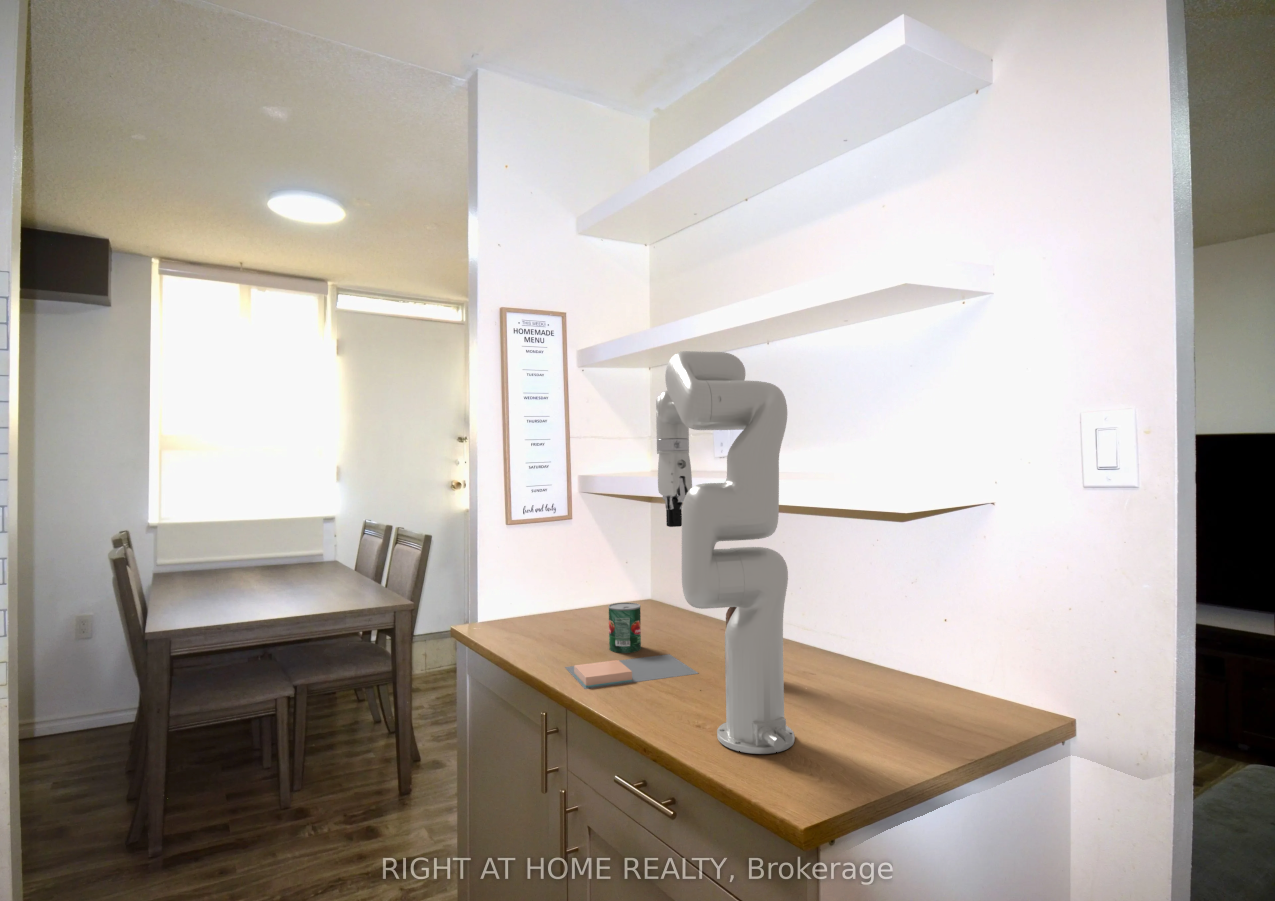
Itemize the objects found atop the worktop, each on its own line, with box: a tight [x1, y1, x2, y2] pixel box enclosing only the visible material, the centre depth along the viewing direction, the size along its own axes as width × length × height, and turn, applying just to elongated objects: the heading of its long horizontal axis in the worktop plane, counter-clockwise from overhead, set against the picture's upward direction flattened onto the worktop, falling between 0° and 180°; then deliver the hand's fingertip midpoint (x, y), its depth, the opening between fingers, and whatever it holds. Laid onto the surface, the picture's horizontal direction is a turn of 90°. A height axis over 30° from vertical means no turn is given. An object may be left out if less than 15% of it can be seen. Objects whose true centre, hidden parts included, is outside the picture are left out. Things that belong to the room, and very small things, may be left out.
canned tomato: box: [607, 602, 642, 654], centre depth 168 cm, size 8×8×11 cm
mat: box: [564, 653, 700, 690], centre depth 150 cm, size 16×26×1 cm, turn 111°
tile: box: [573, 659, 632, 687], centre depth 145 cm, size 2×10×9 cm
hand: (674, 526), depth 159 cm, fingers closed
